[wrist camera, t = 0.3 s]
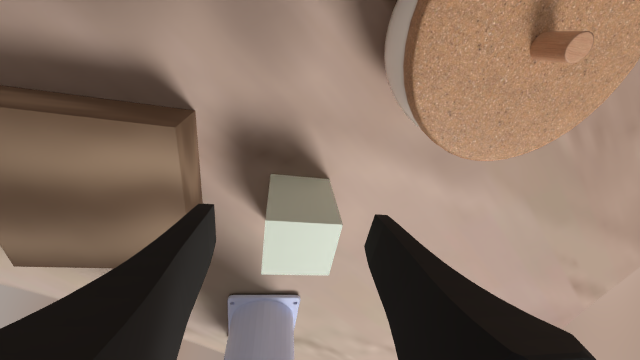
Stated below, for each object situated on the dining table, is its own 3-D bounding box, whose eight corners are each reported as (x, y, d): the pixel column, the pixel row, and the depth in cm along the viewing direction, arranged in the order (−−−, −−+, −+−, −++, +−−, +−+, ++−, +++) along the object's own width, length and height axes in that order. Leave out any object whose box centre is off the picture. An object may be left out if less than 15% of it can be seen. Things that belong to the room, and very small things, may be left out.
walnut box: (206, 235, 23) (192, 269, 20) (57, 228, 21) (13, 266, 18) (196, 109, 18) (175, 127, 14) (-10, 82, 15) (-95, 95, 12)
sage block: (319, 223, 24) (328, 275, 19) (266, 220, 23) (261, 274, 18) (329, 178, 21) (342, 224, 16) (270, 173, 20) (265, 220, 15)
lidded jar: (389, -92, 13) (550, -286, 5) (552, -42, 15) (852, -128, 7) (346, 109, 18) (393, 167, 10) (471, 126, 20) (591, 186, 12)
